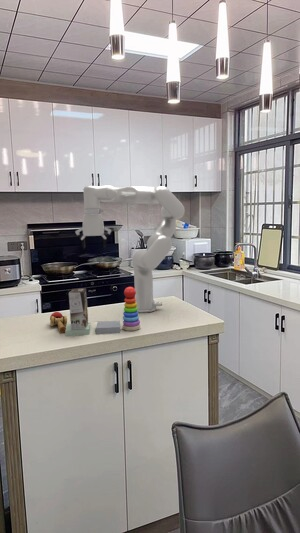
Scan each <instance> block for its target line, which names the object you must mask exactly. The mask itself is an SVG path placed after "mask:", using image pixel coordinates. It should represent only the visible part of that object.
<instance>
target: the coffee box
mask: <svg viewBox="0 0 300 533" xmlns="http://www.w3.org/2000/svg"><path fill="white" fill-rule="evenodd" d="M87 296H88V294H87V287H86V288H85V287H83V288H72V289H71V290H70V291H69V292H68V302H69V318H70V324H71V330H78V329H86V327H87V325H88V323H89V312H88V298H87Z"/></svg>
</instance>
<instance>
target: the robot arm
mask: <svg viewBox="0 0 300 533" xmlns="http://www.w3.org/2000/svg"><path fill="white" fill-rule="evenodd" d="M82 190H83V191H82V192H83V206H84V207H83V209H84V214H83V217H82V227H80V228H79V229H77V230H75V231H74V232H75V234H76V236H77V237H78V238H79V239H80V240H81V247H82V248H83V249H85V248H86V240H85V238H87V237H96V236H98V237H99V236H101V237H102V247H103V248H106V246H107V238H108V237H110V236H111V233H112V229H110V228H109V227H106V226H104V225H105V224H104V223H105V222H104V218H103V214H102V213H104V209H102V208H101V202H102V203H119V204H120V203H123V204H124V203H125V204H143V205H144V204H147V205H158V204H160V205H161V206H162V207H161V209H160V215H161V222H160V224H159V226H158V227H157V228H156V230H154V232H153V233H152V234H151V235H150V236H149V238H148V239H147V241H146V247H147V248H148V249H139V250H137V251H135V252H134V253H133V255H132V260H131V261H132V262H131V263H132V267H133V278H134V279H133V280H134V289H135V291H136V294H135V296H134V298H136V303H137V306H136V307H137V308H138V309H137V311H138V313H152V312H155V311H156V310H157V307H162V306H163V302H160V301H155V300H154V285H153V284H154V283H153V281H154V279H153V278H154V277H153V271H152V270H154V269H156V268H157V267H158V266H160V264H161V263H162V261H163V260H165V258H166V257H167V255H168V254H169V253H170V251H171V250H172V246H173V243H172V242H173V241H172V239H171V238H172V237H173V236H174V234H175V232H176V230H177V220H180V219H181V218H182V217H184V216H185V212H186V211H185V206H184V205H183V203H182V202H181V201H180V200H179V199H178V197H177V196H175V195H174V193H173V192H172V191H171V190H170V189H168V187H166V186H162V185H160V186H140V185H133V186H131V185H130V186H129V185H128V186H124V187H114V186H112V185H111V184H110V185H108V184H107V185H99V186H97V185H87V186H86V185H85V186H84V187H83V189H82ZM105 231H106V232H107V234H106V235H105ZM80 232H82V235H81V234H80Z"/></svg>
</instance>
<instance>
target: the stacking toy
mask: <svg viewBox="0 0 300 533" xmlns="http://www.w3.org/2000/svg"><path fill="white" fill-rule="evenodd" d="M123 294H124V296H125V298H124V304H123V306H124V307H123V317H122V320H123V321H122V329H123V330H124V331H128V332H133V331H137V330H140V329H141V324H140V323H141V320H140V316H139V312H138V311H137V309H138V308H137V307H136V306H137V303H136V298H135V294H136V291H135V287H133V286H128V287H125V289H124V291H123Z"/></svg>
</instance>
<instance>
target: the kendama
mask: <svg viewBox="0 0 300 533" xmlns="http://www.w3.org/2000/svg"><path fill="white" fill-rule="evenodd" d="M49 322H50V326H51V327H53V326H57V328H58V331H59V333H60V334H66V333H65V330H66V327H67V325H68V317H67V315H63V313H61V312H60V311H55V312H52V313H51V315H50V317H49Z"/></svg>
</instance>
